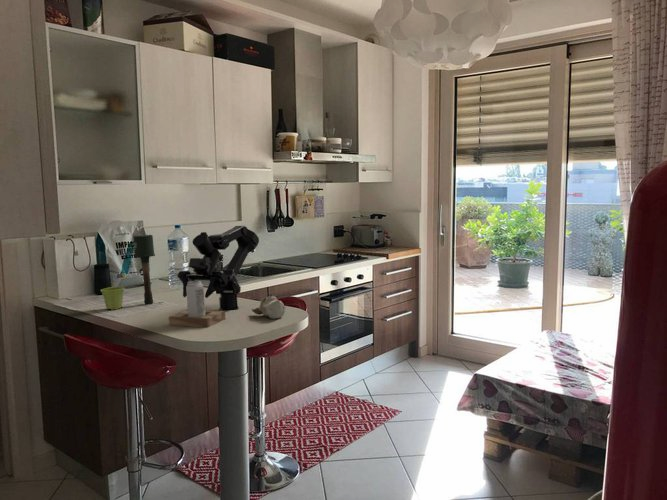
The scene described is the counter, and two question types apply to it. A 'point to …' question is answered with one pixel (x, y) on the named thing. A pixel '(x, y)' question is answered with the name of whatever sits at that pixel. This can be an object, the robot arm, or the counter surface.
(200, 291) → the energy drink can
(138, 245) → the potato masher grenade
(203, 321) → the hole board
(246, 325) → the counter surface
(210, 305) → the counter surface
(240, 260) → the robot arm
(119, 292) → the plant pot
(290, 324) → the counter surface
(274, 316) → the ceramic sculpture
